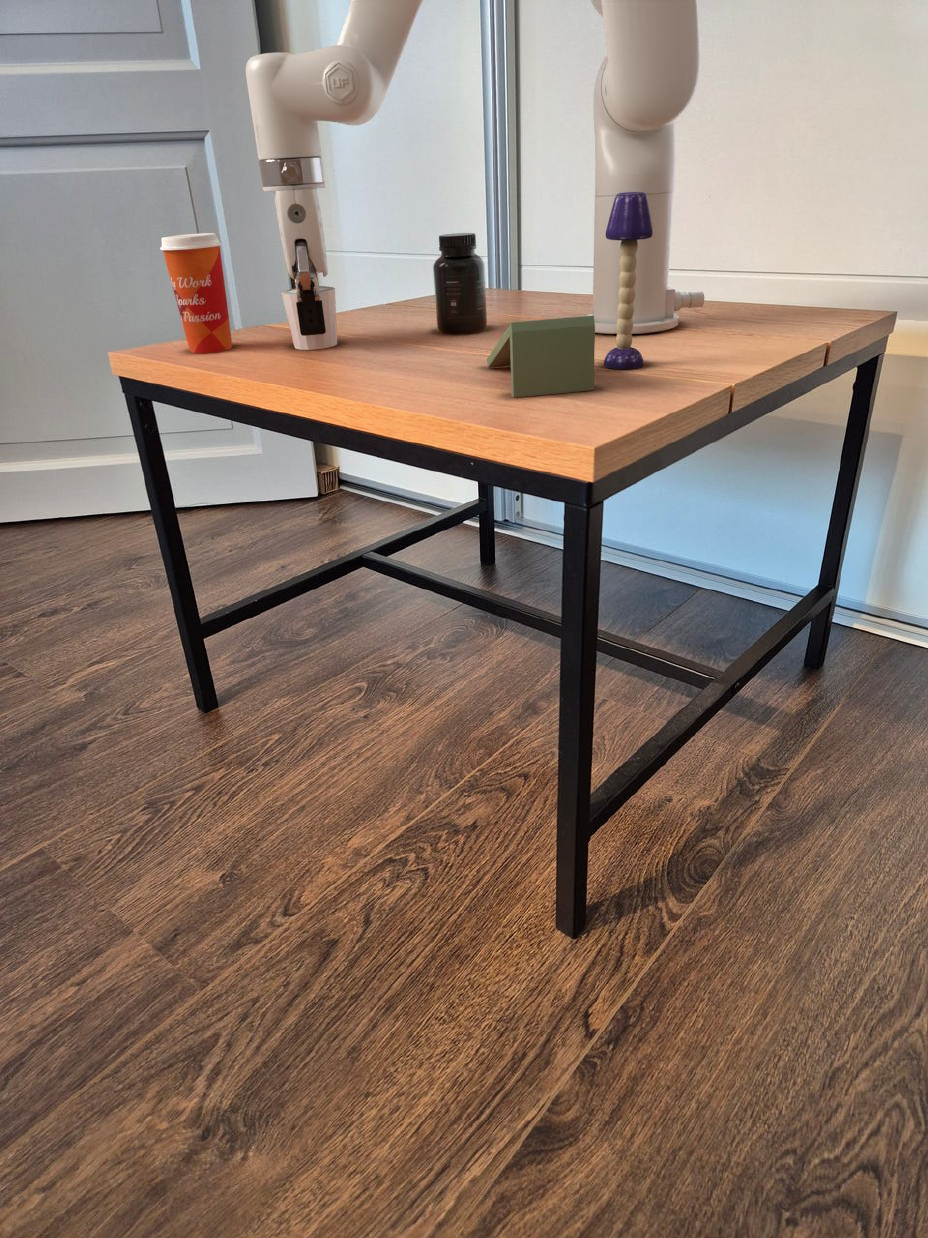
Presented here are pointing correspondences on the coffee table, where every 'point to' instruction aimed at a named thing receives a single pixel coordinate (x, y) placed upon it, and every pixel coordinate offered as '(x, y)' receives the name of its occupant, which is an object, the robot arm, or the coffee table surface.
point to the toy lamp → (627, 271)
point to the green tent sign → (548, 355)
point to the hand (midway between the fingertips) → (313, 328)
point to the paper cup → (199, 290)
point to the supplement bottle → (459, 285)
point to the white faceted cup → (329, 317)
